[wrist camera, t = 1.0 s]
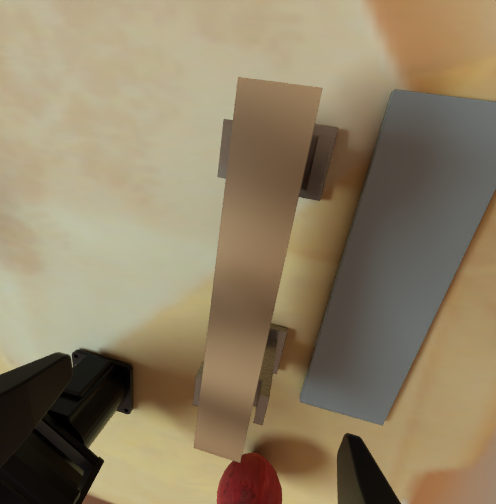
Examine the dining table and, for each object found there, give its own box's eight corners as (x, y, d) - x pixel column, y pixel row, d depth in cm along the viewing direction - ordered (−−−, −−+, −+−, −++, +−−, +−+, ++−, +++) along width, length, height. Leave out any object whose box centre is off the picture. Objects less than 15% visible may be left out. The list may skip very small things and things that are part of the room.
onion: (229, 427, 27) (201, 529, 19) (286, 439, 26) (280, 552, 18) (228, 465, 29) (203, 572, 21) (282, 478, 28) (274, 595, 20)
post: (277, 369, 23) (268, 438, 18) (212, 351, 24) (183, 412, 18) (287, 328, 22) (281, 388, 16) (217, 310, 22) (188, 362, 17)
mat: (380, 419, 23) (382, 425, 22) (299, 396, 24) (299, 402, 23) (525, 108, 14) (534, 106, 14) (391, 91, 15) (395, 89, 15)
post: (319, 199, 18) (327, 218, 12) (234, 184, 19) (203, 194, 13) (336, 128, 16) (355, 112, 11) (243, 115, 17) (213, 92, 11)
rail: (249, 418, 19) (240, 462, 16) (209, 406, 19) (193, 447, 17) (318, 104, 12) (322, 88, 9) (252, 95, 12) (238, 76, 9)
